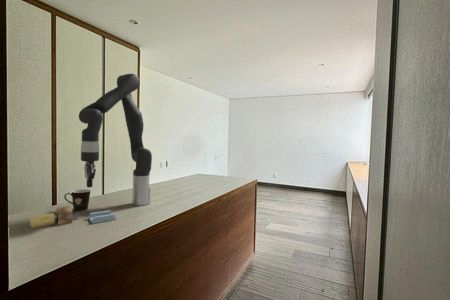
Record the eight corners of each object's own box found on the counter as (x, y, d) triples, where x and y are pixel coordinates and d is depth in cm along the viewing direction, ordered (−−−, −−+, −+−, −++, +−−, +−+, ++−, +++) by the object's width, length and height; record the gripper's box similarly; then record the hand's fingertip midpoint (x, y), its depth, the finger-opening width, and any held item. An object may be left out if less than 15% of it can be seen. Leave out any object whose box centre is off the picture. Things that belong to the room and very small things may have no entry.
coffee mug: (93, 208, 130) (94, 190, 130) (80, 212, 122) (80, 193, 121) (76, 205, 133) (77, 188, 133) (62, 210, 125) (62, 191, 125)
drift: (75, 218, 115) (75, 212, 115) (77, 219, 113) (78, 213, 113) (53, 222, 108) (53, 216, 108) (55, 224, 106) (55, 217, 106)
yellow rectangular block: (52, 221, 109) (52, 213, 108) (54, 224, 106) (54, 215, 106) (29, 225, 103) (30, 216, 102) (31, 228, 100) (31, 219, 100)
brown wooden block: (69, 217, 114) (69, 206, 114) (71, 222, 108) (72, 210, 107) (56, 219, 111) (56, 207, 111) (58, 225, 104) (58, 212, 104)
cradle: (110, 215, 121) (111, 209, 120) (116, 219, 114) (116, 214, 114) (88, 218, 114) (88, 213, 114) (92, 223, 108) (92, 218, 108)
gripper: (102, 151, 112) (101, 188, 112) (95, 150, 122) (94, 184, 122) (84, 151, 107) (83, 190, 108) (78, 150, 117) (77, 185, 118)
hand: (89, 187), depth 115 cm, fingers closed
